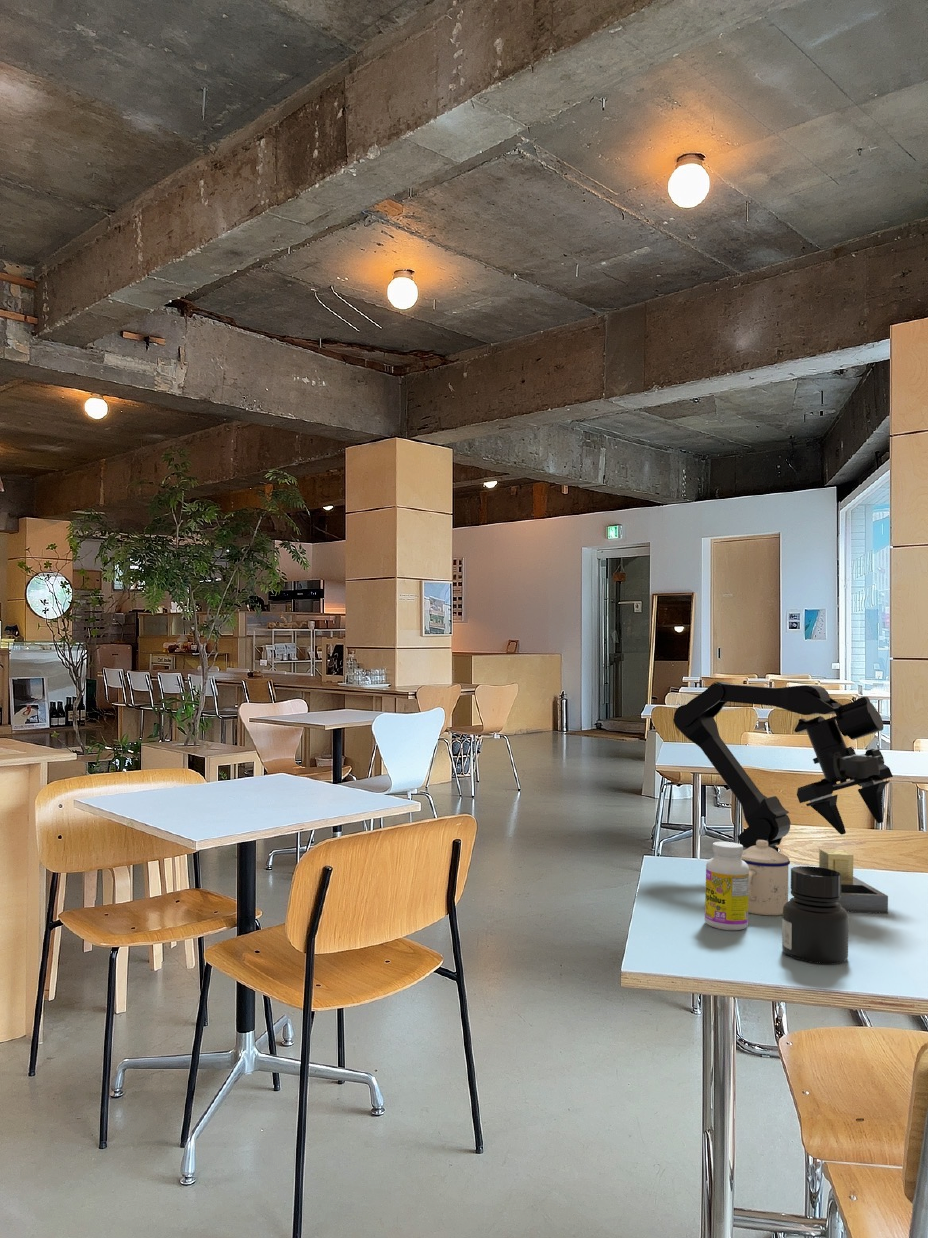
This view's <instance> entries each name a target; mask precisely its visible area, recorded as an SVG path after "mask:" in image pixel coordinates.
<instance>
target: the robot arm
mask: <svg viewBox="0 0 928 1238" xmlns="http://www.w3.org/2000/svg"><path fill="white" fill-rule="evenodd" d="M727 703H738V704H740V703H741V704H749V705H759V706H761V705H762V706H769V707H770V706H771V707H776V708H779V709H782V710H785V711H788V712H792V713H795V714H799V715H802V716H803V715H804V716H810V715H811V716H813V715H814V716H815V715H819V716H816V717H813V718H811V719H805V718H799V719H798V722H797V725H795V726H796V727H795V728H794V729H793V730H794V732H795V733H803V732H806V733H807V736H808V739H809V740H810V741H809V742H810V743H811V745H812V748H813V751H814V753H815V754H814V755H815V756H816V757H815V758H812V761H813V763H814V764H815V765H817V764H819V766H820V769H821V773H822V774H823V777H824V778H822V779H820V780H819V781H816V782H812V783H808V784H806V785H803V786H800V787H797V790H796V797H797V799H798V802H799V804H802V803H806V802H808V803H806V804H805V805H806V807H811V808H812V809H813V811H816V813H818V814H819V815H820V816H821V817H823V819H825V820H826V822H828V823H829V824H830V825H831V826H832V828H833V829H835V830H836V831H837V832H838V834H839V835H841V836H842V835H846V834H847V833H846V828H845V825H844V822H843V819H842V816H841V814H840V811H839V809H838V805H837V802H838V794H835V795H833V793H834V792H836V791H838V790H843V789H846V788H850V787H853V786H859V787H861V788H859V789H857V792H858V793H859V795H860V797H861V798H862V800H863V802H864V803H865V806H866V808H867V809H868V810H869V812H870V813H871V816H872V817H873V819H874V820H875V821H876V823H877V824H882V823H884V813H883V811H884V810H883V809H884V808H883V807H884V806H883V793H884V789H885V788H886V786H887V784H889V783H890V780H889V779H890V778H893V777H894V776H893V774H892V773H893V772H891V769H890V767H889V766H888V765H886V764H885V757H884V756H883V754H882V752H881V750H880V748H869V749H866V750H865V752H864V753H862V754H857V753H856V751H855V749H854V748H853V747H852V746H849V747H847V745H846V742H845V740H844V737H848V739H850V740H852V741H855V740H858V739H860V738H863V737H866V736H870V735H872V734H875V733H878V732H881V731H883V730H884V723H883V719H882V716H881V714H880V712H879V711H878V710H877V708H876V706H875V705H874V704H873V703H872V702H871V700H870V698H869V697H868V696H862V697H860V698H857V699H856V700H853V701H852V702H848V703H845V704H841V702H839V701H836V700H835V699H834V698H832V697H830V694H829V693H828V691H827V689H825V688H824V686H822V685H815V684H814V685H811V684H810V685H809V684H805V685H803V684H802V685H792V686H783V687H771V686H770V687H769V686H757V685H745V684H732V683H728V682H721V681H720V682H718V681H717V682H713V683H711V684H710V685H709V686H708V687H707V688H706V689H705V690H704V691H702V692H700V693H699V694H698V695H696V696H694V698H691V700H690V701H688V703H686V704H682V705H680V706H678V707H677V708H676V709H675V712H674V713H673V724H674V726H675V728H676V729H678V731H680V733H681V734H682V735H683V736H684V737H685V738H686V739H688V740H689V741H690V742H692V743H693V744H695V745H696V746H698V748H700V749H701V750H702V753H703V754H704V755H705V756H706V757H707V759H708V760H709V762H710V763H711V765H712V766H713V767H714V769H715V770H716V772H717V773H718V775H719V776H720V777H721V778H722V780H723V781H724V782H725V784H726V785H727V787H728V788H729V789H730V791H731V792H732V794H733V795H734V796H735V798H736V799H737V801H738V802H739V803H740V806H741V808H742V809H741V810H742V813H743V816H744V817H743V818H744V820H745V823H746V824H747V826H748V827H747V828H746V829H744V830H743V831H742V832H741V833H739V835H738V836H737V838H738V839H737V840H738V844H741V845H743V850H746V849H747V848H749V847H751V846H756V841H757V840H766V841H768V847H771V848H773V849H775V850H776V851H777V852H779V847H778V846H780V845H781V842H782V840H783V838H784V837H786V836H787V835H788V834H789V832H790V830H791V823H792V822H791V820H790V817H789V815H788V814H790V811H789V810H787V809H786V808H785V807H784V806H783V805H782V803H781V801H780V799H779V798H778V796H776V795H774V796H769V797H767V796H766V795H765V794H763V793H762V792H761V790H760V789H759V788H758V786H757V785H756V784H755V782H754V781H753V780H752V778H751V777H750V776H749V774H748V773H747V772H746V771H745V769H744V767H743V766H742V765H741V764H740V762H739V760H737V758H736V757H735V756H734V754H733V753H732V751H731V750H730V749H729V748H728V746H727V744H726V743H725V742H724V740H723V739H722V737H721V736H720V733H719V732H720V731H719V728H718V725H717V722H716V720H715V717H716V716H717V715H718V714H719V713H720V712H721V710H723V708H724V706H725V705H726V704H727ZM821 715H835V716H831V717H829V718H826V719H825V718H824V716H821ZM887 779H888V780H887ZM884 780H885V781H884ZM838 782H839V783H838Z"/></svg>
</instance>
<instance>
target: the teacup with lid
mask: <svg viewBox="0 0 928 1238" xmlns="http://www.w3.org/2000/svg"><path fill="white" fill-rule="evenodd" d="M741 857H742V860H743V861H744V862H746V863H747V865H748V867H749V895H748V914H754V915H759V916H760V915H761V916H783V906H784V905H785V904H786V903H787V902H788V901H789V865H790V863H791V862H790V858H789V857H788V856H787V855H785V854H783V853H781V852H779V851H778V852H777V851H776V850H775V849H773V848H771V847H768V841H766V840H757V841H756V846H751V847H749V848H747V849H746V850H743V853H742V856H741Z"/></svg>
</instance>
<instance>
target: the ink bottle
mask: <svg viewBox="0 0 928 1238" xmlns="http://www.w3.org/2000/svg"><path fill="white" fill-rule="evenodd" d="M790 895H791V896H792V897H791V898H790V899H789V900H788V902H787V903H786V904H785V905H784V906H783V914H782V922H781V923H782V925H781V929H782V933H781V935H782V936H781V938H782V939H781V941H782V942H781V944H782V945H781V948H782V951H783V953H784V954H786V955H787V956H789V957H791V958H794V959H797V960H800V961H805V962H809V963H813V964H821V965H833V964H840V963H843V962H845V961H846V960H847V961H848V957H849V921H850V920H849V919H850V917H849V914H848V913H849V912H847V911H846V910H845V909H844V908H843V907H842V906H841V904H840V903H838V902H837V901H839V900H840V899H841V897H840V895H841V874H840V872H837V871H835V870H831V869H827V868H820V867H819V866H811V865H810V866H809V865H807V866H804V865H803V866H801V865H800V866H793V867H791V868H790Z"/></svg>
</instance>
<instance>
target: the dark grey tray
mask: <svg viewBox="0 0 928 1238" xmlns="http://www.w3.org/2000/svg"><path fill="white" fill-rule="evenodd" d="M840 897H841V899H840V900H839V901H837V902H838V903H840V904H841V906H842V907H843V908H844V909H845V910H846V911H847V913H858V914H860V913H861V914H862V913H863V914H883V915H885V914H887V915H888V914H889V895H888V894H885V893H884V892H882V891H880V890H878V889H876V888H874V887H873V886H871V885H869V884H867V883H866V882H864V881H862V880H861V879H859V878H857V877H856V876H854V875H853V883H846V882H841V895H840Z"/></svg>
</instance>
